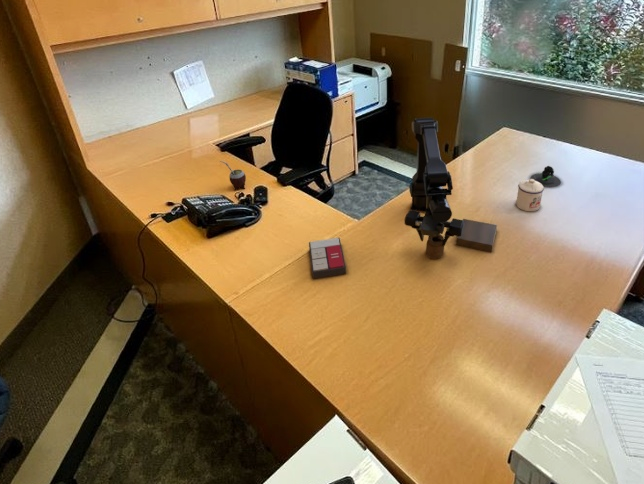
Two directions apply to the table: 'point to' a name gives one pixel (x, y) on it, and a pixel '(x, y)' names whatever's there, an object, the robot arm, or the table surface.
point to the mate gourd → (237, 178)
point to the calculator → (327, 258)
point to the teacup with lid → (529, 195)
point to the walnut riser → (477, 235)
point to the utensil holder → (435, 246)
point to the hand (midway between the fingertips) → (432, 243)
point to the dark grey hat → (547, 178)
